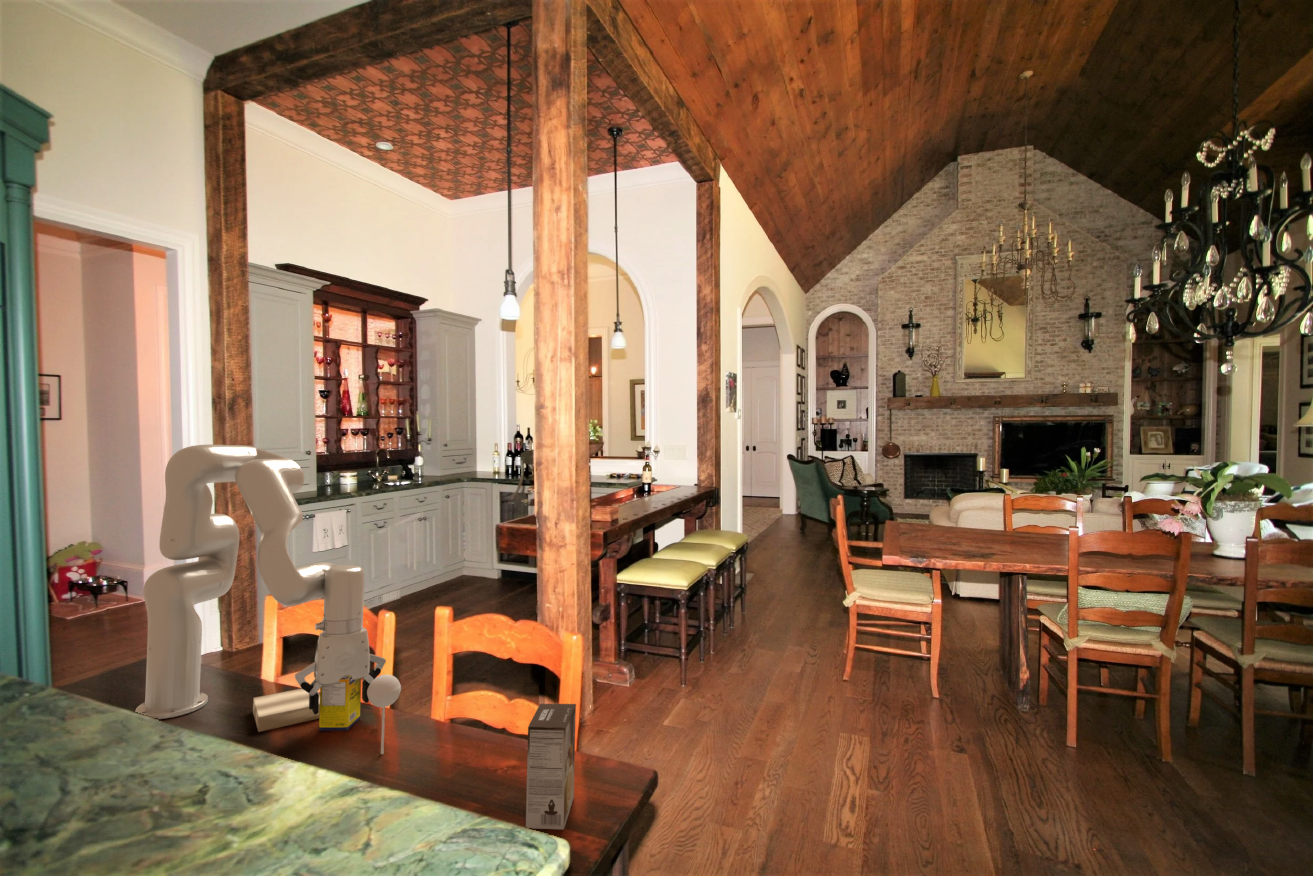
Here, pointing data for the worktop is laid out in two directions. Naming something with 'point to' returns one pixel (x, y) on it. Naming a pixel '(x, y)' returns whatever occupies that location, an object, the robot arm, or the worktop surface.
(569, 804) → the coffee box
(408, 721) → the worktop surface
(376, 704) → the lollipop
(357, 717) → the supplement box
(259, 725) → the block
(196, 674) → the robot arm
